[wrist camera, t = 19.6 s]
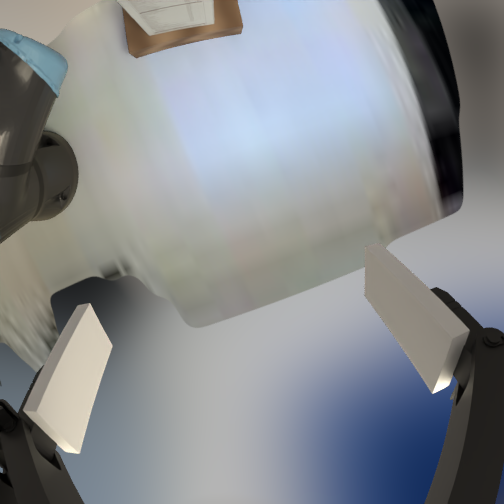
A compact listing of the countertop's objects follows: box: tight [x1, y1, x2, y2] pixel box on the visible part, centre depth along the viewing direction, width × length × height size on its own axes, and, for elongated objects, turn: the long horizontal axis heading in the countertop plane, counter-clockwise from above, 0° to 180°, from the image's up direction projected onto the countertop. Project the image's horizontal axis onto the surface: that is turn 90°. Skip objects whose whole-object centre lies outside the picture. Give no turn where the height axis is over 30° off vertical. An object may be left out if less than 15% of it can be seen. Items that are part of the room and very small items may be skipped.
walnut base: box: [122, 0, 243, 58], centre depth 31 cm, size 16×12×4 cm
